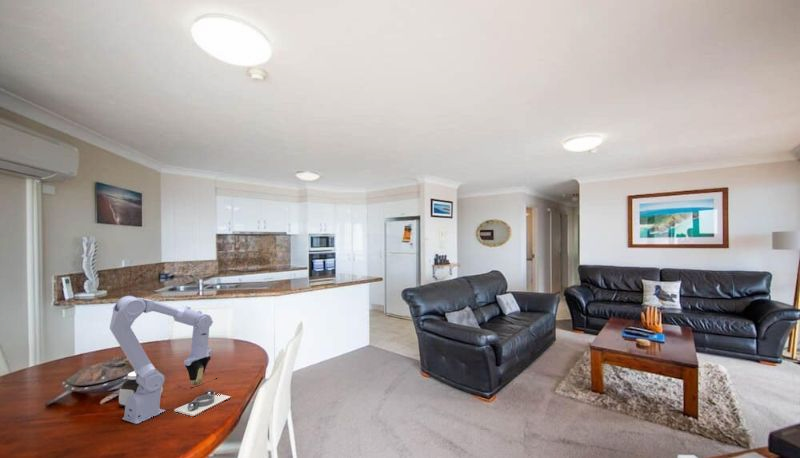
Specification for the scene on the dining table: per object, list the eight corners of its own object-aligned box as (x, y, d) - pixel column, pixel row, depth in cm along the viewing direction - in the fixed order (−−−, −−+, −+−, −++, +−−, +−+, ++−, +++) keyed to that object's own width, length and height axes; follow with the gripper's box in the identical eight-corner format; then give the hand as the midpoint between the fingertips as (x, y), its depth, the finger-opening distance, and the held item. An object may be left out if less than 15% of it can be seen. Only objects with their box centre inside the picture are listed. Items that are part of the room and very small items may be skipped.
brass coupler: (195, 385, 123) (196, 368, 123) (187, 383, 124) (189, 366, 125) (204, 381, 126) (206, 365, 127) (197, 380, 128) (198, 363, 128)
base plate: (193, 417, 111) (193, 410, 111) (173, 412, 114) (174, 405, 115) (230, 399, 126) (231, 392, 126) (212, 394, 130) (213, 388, 130)
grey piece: (211, 398, 124) (212, 392, 124) (203, 398, 124) (204, 393, 124) (214, 394, 127) (215, 389, 128) (207, 395, 127) (207, 389, 127)
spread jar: (114, 409, 115) (117, 377, 116) (131, 396, 126) (134, 366, 127) (151, 406, 118) (155, 375, 119) (165, 393, 129) (168, 365, 130)
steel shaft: (193, 406, 117) (194, 400, 117) (199, 407, 117) (200, 401, 117) (185, 410, 114) (186, 404, 114) (192, 411, 113) (193, 405, 114)
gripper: (198, 349, 120) (194, 385, 118) (219, 339, 134) (216, 371, 133) (180, 348, 119) (176, 384, 118) (203, 338, 134) (200, 371, 133)
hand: (196, 377), depth 125 cm, fingers closed on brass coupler, 4 cm apart
